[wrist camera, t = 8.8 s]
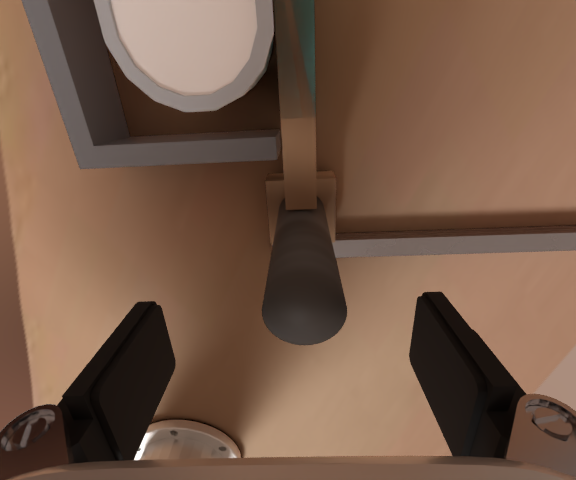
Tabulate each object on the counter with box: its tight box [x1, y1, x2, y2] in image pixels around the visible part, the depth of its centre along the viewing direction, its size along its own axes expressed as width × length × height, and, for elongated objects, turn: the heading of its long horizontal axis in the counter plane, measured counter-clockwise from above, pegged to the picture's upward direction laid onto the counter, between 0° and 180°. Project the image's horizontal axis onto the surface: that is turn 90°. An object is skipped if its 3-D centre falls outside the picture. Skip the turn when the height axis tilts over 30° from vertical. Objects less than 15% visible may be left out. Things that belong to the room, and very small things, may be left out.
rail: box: [272, 225, 576, 258], centre depth 22 cm, size 1×24×1 cm, turn 93°
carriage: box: [262, 0, 347, 345], centre depth 14 cm, size 16×4×12 cm, turn 3°
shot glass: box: [94, 0, 274, 112], centre depth 15 cm, size 7×7×7 cm
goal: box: [22, 0, 281, 169], centre depth 16 cm, size 12×11×4 cm
